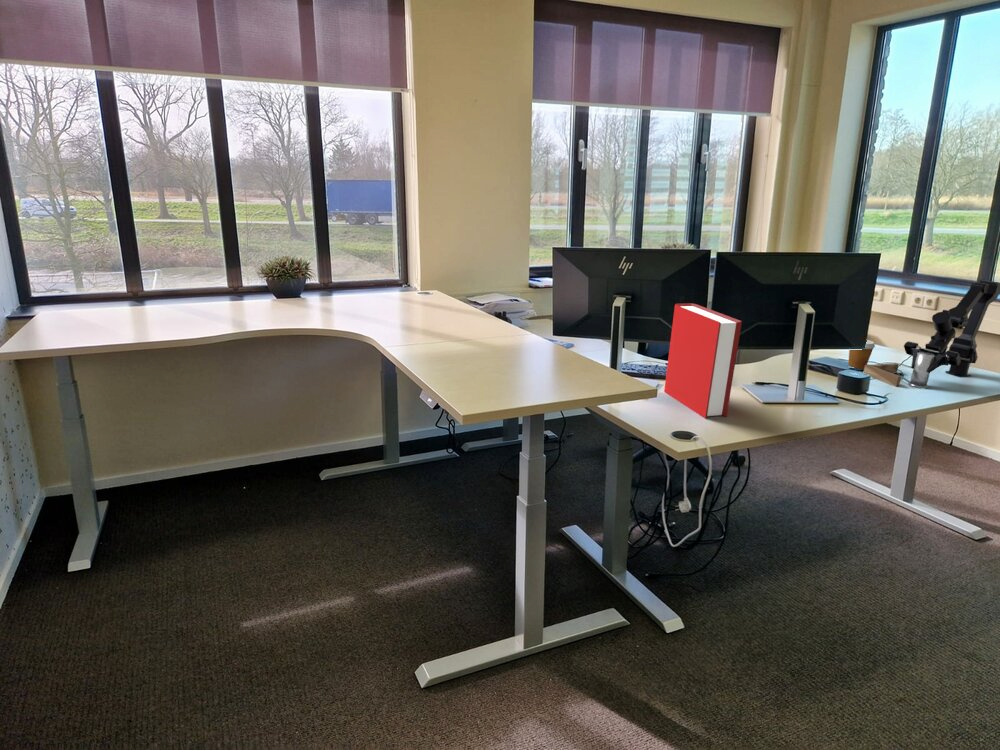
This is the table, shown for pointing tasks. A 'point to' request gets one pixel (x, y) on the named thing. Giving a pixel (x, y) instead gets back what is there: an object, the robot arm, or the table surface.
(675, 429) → the table surface
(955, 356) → the robot arm
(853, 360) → the disposable coffee cup
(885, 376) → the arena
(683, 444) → the table surface
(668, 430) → the table surface
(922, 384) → the silver metal can
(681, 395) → the book
